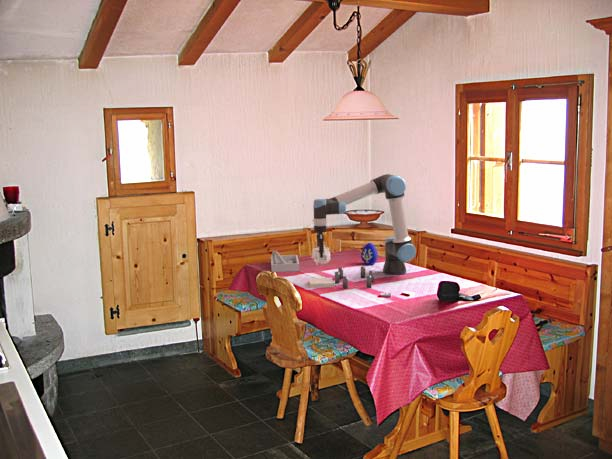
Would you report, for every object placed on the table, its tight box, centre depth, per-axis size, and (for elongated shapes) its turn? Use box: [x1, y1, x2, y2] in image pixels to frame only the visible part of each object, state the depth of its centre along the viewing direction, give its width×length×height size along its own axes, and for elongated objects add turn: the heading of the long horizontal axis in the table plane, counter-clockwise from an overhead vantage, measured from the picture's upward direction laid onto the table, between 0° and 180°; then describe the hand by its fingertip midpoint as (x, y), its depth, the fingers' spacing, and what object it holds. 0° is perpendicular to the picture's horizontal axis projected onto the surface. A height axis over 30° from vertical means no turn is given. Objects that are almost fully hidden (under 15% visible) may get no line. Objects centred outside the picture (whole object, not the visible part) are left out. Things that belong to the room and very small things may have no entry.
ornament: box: [360, 242, 379, 266], centre depth 472 cm, size 11×9×15 cm
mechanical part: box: [310, 244, 331, 266], centre depth 416 cm, size 11×12×12 cm
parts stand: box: [308, 277, 335, 289], centre depth 419 cm, size 14×14×2 cm
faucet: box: [271, 250, 294, 264], centre depth 471 cm, size 14×11×20 cm
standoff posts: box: [334, 265, 375, 290], centre depth 422 cm, size 24×28×7 cm
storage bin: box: [270, 254, 300, 273], centre depth 471 cm, size 18×29×5 cm, turn 3°
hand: (320, 260), depth 417 cm, fingers closed on mechanical part, 12 cm apart
